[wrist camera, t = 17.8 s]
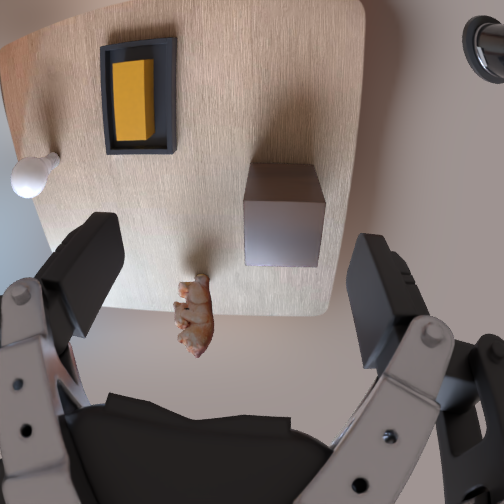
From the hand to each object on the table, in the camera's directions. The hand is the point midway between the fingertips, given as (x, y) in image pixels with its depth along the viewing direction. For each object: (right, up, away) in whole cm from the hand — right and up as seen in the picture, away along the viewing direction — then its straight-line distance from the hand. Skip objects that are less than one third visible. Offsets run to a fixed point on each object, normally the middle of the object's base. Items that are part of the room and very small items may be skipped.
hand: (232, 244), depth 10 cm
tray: (-15, +22, +28) cm, 38 cm away
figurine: (-9, -6, +47) cm, 49 cm away
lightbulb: (-33, +16, +33) cm, 49 cm away
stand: (+5, +9, +36) cm, 37 cm away
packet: (-15, +21, +27) cm, 38 cm away
